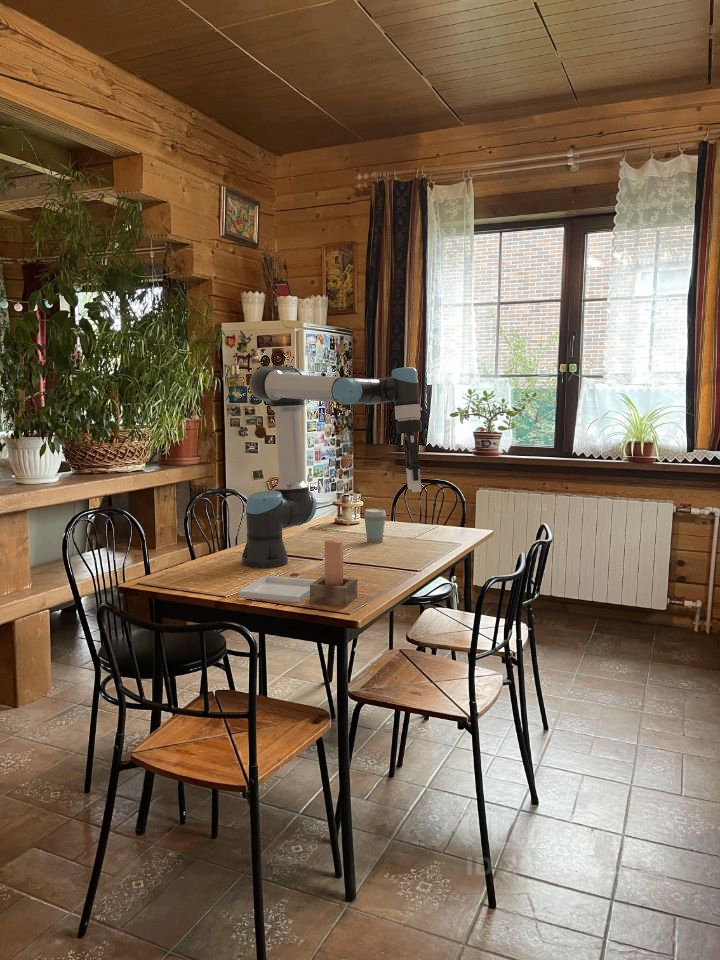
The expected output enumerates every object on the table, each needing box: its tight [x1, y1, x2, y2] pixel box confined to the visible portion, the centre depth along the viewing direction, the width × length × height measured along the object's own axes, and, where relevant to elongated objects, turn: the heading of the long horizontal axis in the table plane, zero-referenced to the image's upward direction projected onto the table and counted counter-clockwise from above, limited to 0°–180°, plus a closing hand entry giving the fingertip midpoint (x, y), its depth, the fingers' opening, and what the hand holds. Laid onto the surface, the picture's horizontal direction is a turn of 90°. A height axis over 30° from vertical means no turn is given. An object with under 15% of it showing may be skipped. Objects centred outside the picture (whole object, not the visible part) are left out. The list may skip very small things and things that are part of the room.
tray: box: [237, 575, 317, 603], centre depth 207 cm, size 18×18×2 cm
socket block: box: [309, 575, 358, 608], centre depth 198 cm, size 10×10×6 cm
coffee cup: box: [363, 508, 387, 544], centre depth 279 cm, size 9×9×12 cm
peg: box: [324, 539, 344, 586], centre depth 198 cm, size 5×5×16 cm
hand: (414, 490), depth 221 cm, fingers open, 13 cm apart
